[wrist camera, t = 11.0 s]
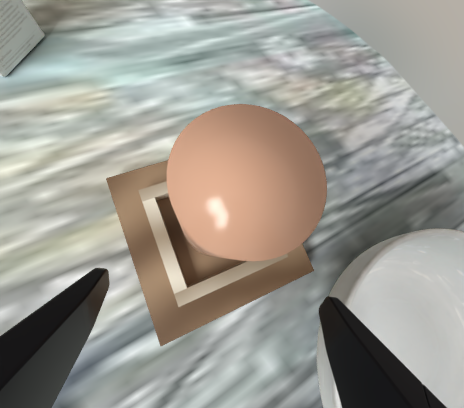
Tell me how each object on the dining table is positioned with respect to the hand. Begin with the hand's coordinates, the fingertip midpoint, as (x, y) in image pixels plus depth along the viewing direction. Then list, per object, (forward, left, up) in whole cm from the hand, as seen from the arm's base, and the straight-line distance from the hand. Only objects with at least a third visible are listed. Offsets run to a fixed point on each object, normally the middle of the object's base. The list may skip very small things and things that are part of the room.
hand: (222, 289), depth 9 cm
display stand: (+3, -2, -11) cm, 12 cm away
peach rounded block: (+3, -2, -10) cm, 10 cm away
